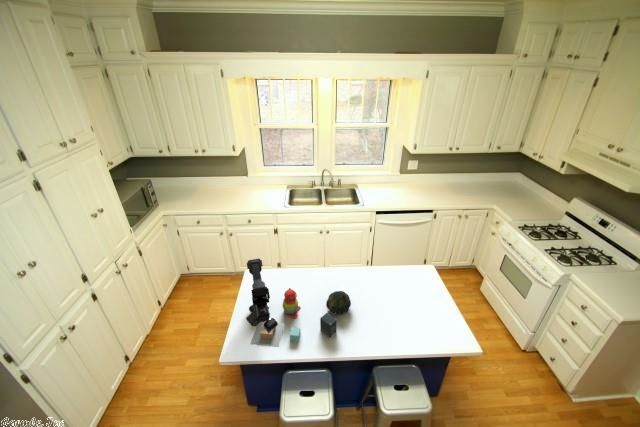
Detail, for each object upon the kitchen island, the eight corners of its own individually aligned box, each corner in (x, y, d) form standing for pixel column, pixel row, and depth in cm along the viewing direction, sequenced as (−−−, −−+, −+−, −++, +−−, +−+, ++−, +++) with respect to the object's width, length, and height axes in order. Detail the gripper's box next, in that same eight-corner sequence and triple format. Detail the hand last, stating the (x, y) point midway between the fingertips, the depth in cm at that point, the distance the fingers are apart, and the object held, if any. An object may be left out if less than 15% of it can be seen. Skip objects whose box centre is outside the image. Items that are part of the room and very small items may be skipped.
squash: (320, 296, 187) (329, 293, 174) (340, 289, 194) (350, 286, 181) (328, 319, 184) (337, 317, 171) (348, 311, 190) (358, 309, 177)
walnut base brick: (263, 327, 172) (263, 322, 170) (275, 328, 171) (275, 324, 169) (260, 337, 166) (259, 333, 164) (272, 339, 165) (272, 334, 163)
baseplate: (258, 321, 177) (258, 320, 176) (285, 324, 175) (284, 323, 175) (250, 345, 163) (250, 343, 162) (278, 348, 161) (278, 346, 161)
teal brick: (292, 334, 169) (291, 327, 166) (300, 335, 169) (300, 328, 166) (290, 342, 165) (289, 334, 162) (299, 343, 164) (298, 335, 161)
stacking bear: (297, 320, 178) (295, 299, 169) (280, 317, 179) (279, 296, 171) (301, 307, 187) (300, 286, 178) (286, 304, 189) (284, 283, 180)
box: (336, 332, 170) (337, 319, 165) (330, 338, 167) (330, 325, 162) (326, 324, 175) (326, 312, 170) (320, 330, 171) (320, 317, 166)
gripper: (238, 303, 150) (242, 324, 158) (257, 326, 138) (260, 347, 146) (257, 293, 157) (260, 313, 164) (277, 313, 145) (279, 335, 152)
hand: (264, 327), depth 156 cm, fingers open, 9 cm apart
